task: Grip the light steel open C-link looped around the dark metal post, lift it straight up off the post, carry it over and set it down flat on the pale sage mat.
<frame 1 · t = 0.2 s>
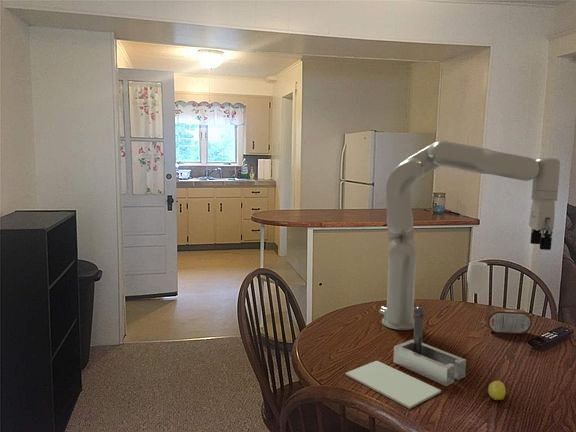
hand: (540, 246, 157), 31 cm above the table, tool pointing down, fingers open, 9 cm apart
cup: (474, 316, 179), on the table
mat: (391, 383, 127), on the table
tin: (507, 333, 163), on the table
c link: (428, 369, 135), on the table
stand: (416, 364, 138), on the table
lemon: (496, 398, 120), on the table
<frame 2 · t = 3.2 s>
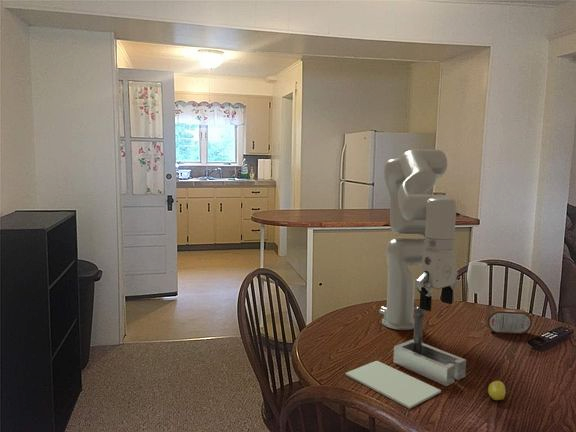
hand: (436, 306, 127), 21 cm above the table, tool pointing down, fingers open, 9 cm apart
nothing on the table moved.
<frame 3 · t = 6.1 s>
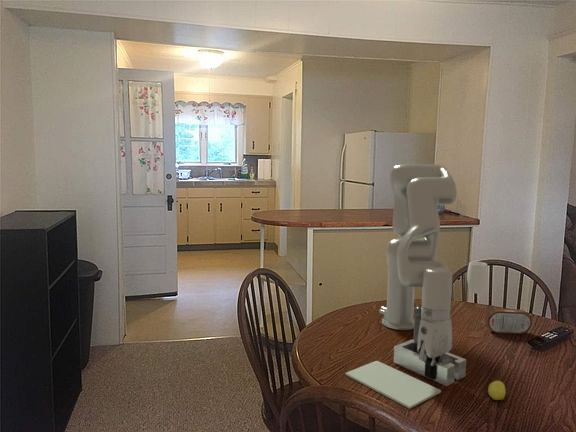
hand: (432, 376, 130), 1 cm above the table, tool pointing down, fingers closed on c link
c link: (428, 369, 135), on the table, touching gripper
everything else where it was.
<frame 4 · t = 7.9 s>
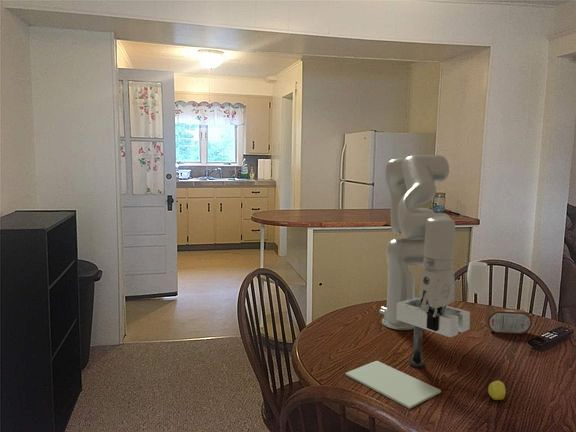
hand: (434, 328, 128), 14 cm above the table, tool pointing down, fingers closed on c link
c link: (431, 324, 133), point 14 cm above the table, touching gripper
everything else where it was.
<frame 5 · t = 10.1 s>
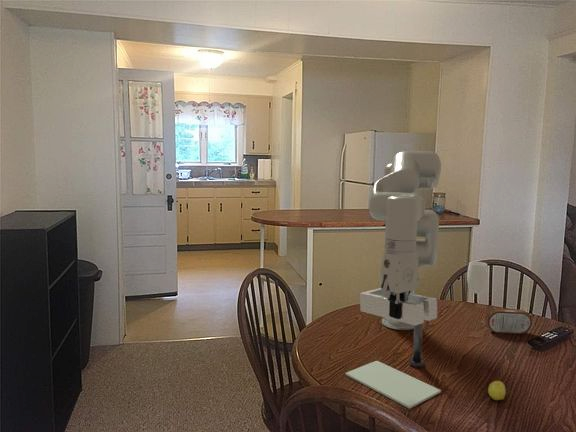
hand: (397, 316, 119), 21 cm above the table, tool pointing down, fingers closed on c link
c link: (397, 314, 123), point 20 cm above the table, touching gripper
everything else where it was.
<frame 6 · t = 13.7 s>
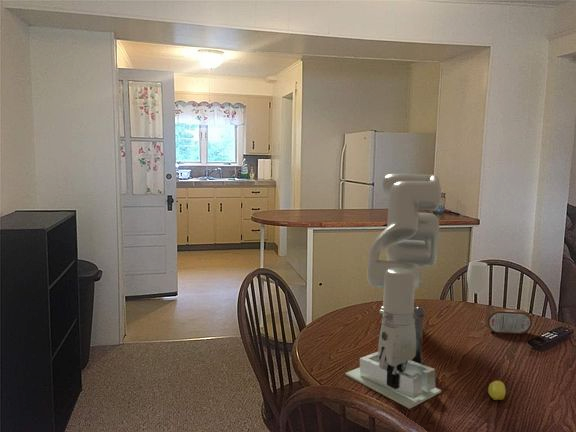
hand: (394, 385, 121), 2 cm above the table, tool pointing down, fingers closed on c link
c link: (396, 381, 125), point 1 cm above the table, touching gripper, mat
everything else where it was.
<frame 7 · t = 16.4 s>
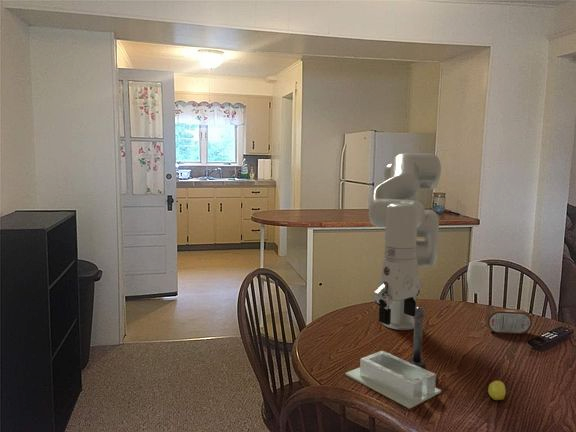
hand: (397, 318, 119), 20 cm above the table, tool pointing down, fingers open, 9 cm apart
c link: (396, 383, 125), point 1 cm above the table, touching mat
everything else where it was.
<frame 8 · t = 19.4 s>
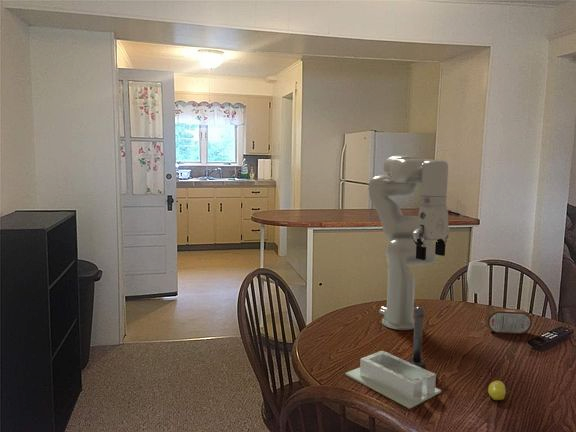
hand: (430, 257, 143), 30 cm above the table, tool pointing down, fingers open, 9 cm apart
nothing on the table moved.
at the end: c link inside the target area on the mat (1.6 cm from its centre), point 0.6 cm above the mat's base; c link tilted 0°; c link touching mat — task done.
